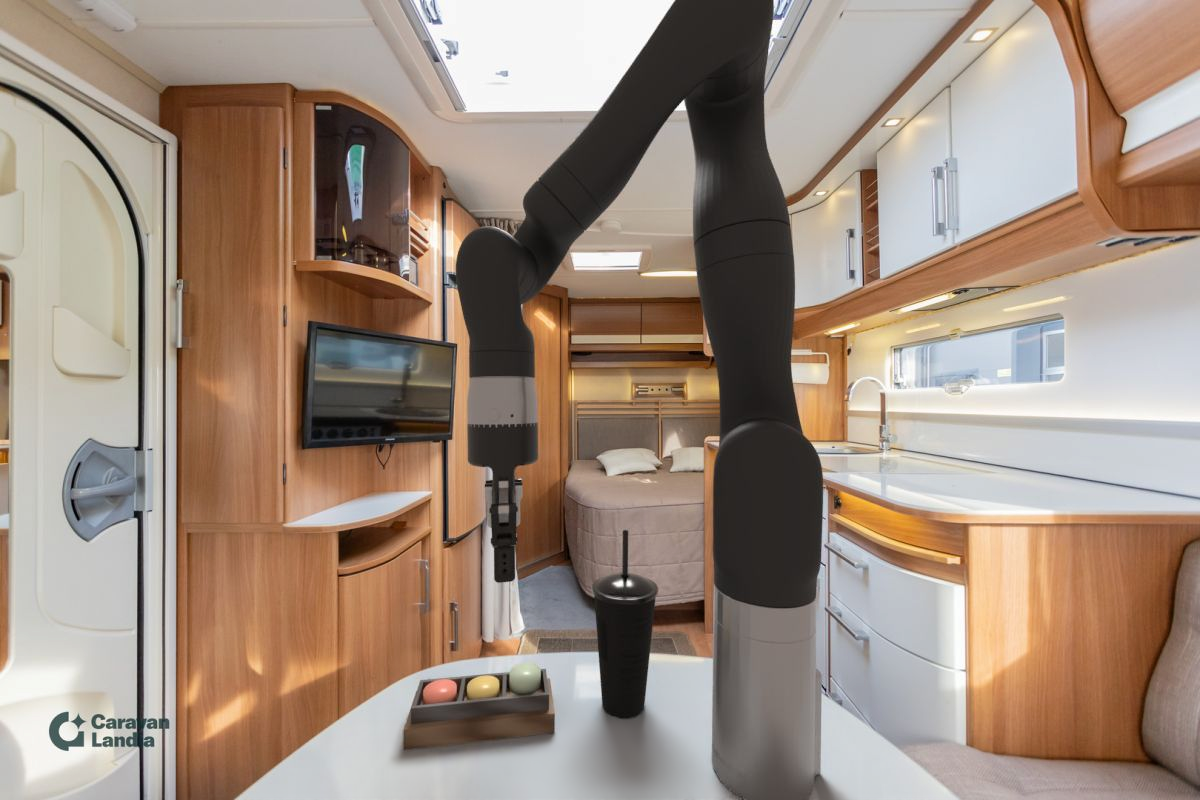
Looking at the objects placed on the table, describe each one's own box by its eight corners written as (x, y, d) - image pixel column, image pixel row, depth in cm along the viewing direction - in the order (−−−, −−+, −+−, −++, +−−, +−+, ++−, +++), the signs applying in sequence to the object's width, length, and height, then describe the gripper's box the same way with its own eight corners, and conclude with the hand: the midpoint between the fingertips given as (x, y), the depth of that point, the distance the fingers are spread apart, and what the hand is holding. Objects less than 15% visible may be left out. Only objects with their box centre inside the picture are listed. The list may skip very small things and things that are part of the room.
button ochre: (499, 688, 54) (499, 674, 54) (498, 707, 50) (498, 692, 50) (468, 691, 53) (468, 677, 53) (465, 711, 50) (465, 695, 50)
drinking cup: (653, 733, 50) (656, 543, 50) (583, 722, 51) (585, 538, 51) (659, 689, 57) (661, 524, 57) (597, 681, 59) (599, 520, 59)
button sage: (539, 675, 54) (539, 661, 54) (541, 693, 51) (541, 678, 51) (509, 678, 54) (509, 664, 54) (509, 696, 50) (509, 681, 50)
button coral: (458, 692, 53) (458, 677, 53) (454, 712, 49) (454, 696, 49) (426, 695, 52) (426, 680, 52) (420, 715, 49) (420, 700, 49)
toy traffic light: (549, 695, 56) (550, 664, 56) (554, 732, 50) (554, 698, 50) (416, 708, 53) (416, 676, 53) (403, 750, 47) (403, 713, 47)
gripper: (542, 421, 46) (544, 601, 46) (534, 417, 59) (535, 557, 59) (461, 423, 44) (463, 608, 44) (471, 418, 57) (473, 562, 57)
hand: (504, 579), depth 52 cm, fingers closed
